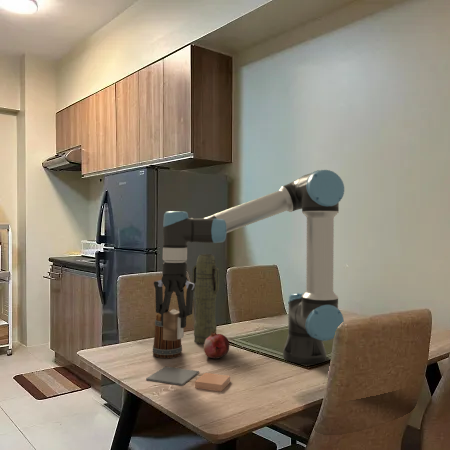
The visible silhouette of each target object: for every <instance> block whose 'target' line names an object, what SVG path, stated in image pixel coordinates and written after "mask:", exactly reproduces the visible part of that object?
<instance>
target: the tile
mask: <svg viewBox="0 0 450 450" xmlns="http://www.w3.org/2000/svg"><path fill="white" fill-rule="evenodd" d="M230 383H231V375H225V374H219V373H218V374H217V373H209V372H204V374H202V375H200V376H199V377H198V378H197V379H196V380H195V381H194V388H195V389H200V390H201V389H202V390H208V391H209V390H210V391H214V392H215V391H216V392H222V391H223V390H224V389H225V388H226V387H227V386H228V385H229V384H230Z"/></svg>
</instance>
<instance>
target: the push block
mask: <svg viewBox="0 0 450 450" xmlns="http://www.w3.org/2000/svg"><path fill="white" fill-rule="evenodd" d="M179 316H180V313H179V309H174V310H172V309H171V310H168V312H166V313H163V340H169V341H176V340H178V339H177V325H178V317H179ZM184 333H185V330H184V331H183V338H184V335H185V334H184Z"/></svg>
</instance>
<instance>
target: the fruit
mask: <svg viewBox="0 0 450 450" xmlns="http://www.w3.org/2000/svg"><path fill="white" fill-rule="evenodd" d="M214 332H215V333H214ZM214 332H212V333H211V335H210V336H209V337H208V338H207V339H206V340H205V343H204V344H203V352H204V354H205V355H206V358H207V357H208V358H210V359H220V358H223V357H224V356H225V355H227V354H228V353H229V350H230V341H229V339H228V338H227V337H226V335H224V334H222V333H217V330H216V331H215V330H214Z"/></svg>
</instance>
